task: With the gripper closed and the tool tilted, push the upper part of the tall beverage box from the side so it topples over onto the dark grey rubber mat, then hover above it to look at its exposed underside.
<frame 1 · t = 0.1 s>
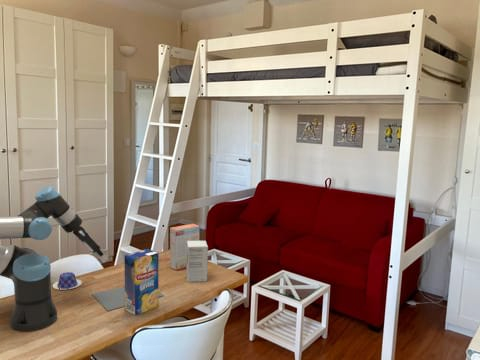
hand: (100, 255, 173), 15 cm above the table, tool tilted 35°, fingers open, 13 cm apart
cracker box: (184, 266, 206), on the table
pudding: (67, 286, 179), on the table
mat: (128, 295, 171), on the table
beverage box: (141, 308, 160), on the table
supplement box: (196, 278, 192), on the table
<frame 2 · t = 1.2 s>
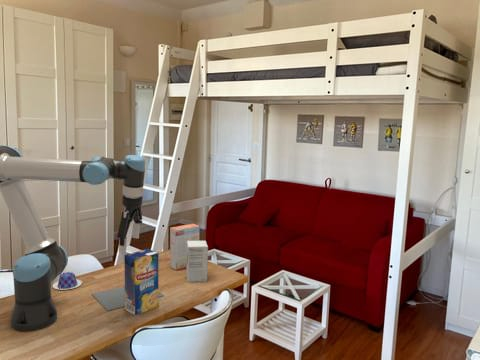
hand: (129, 244, 164), 23 cm above the table, tool pointing down, fingers open, 13 cm apart
nothing on the table moved.
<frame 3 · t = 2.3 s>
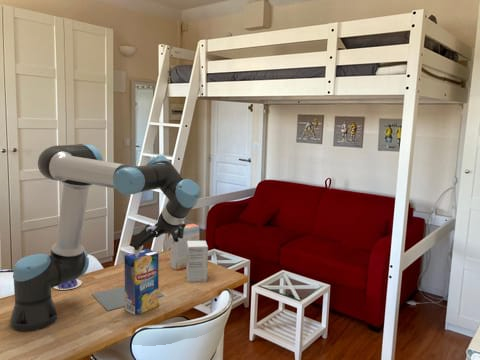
hand: (151, 249, 146), 27 cm above the table, tool tilted 45°, fingers open, 11 cm apart
nothing on the table moved.
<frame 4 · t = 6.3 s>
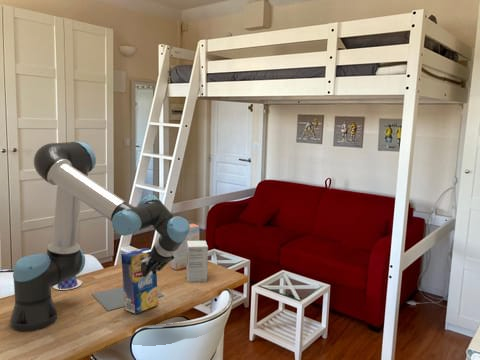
hand: (144, 278, 158), 12 cm above the table, tool tilted 45°, fingers closed
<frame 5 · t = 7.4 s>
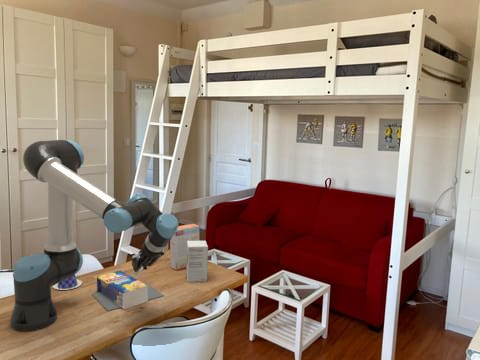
hand: (135, 273, 163), 12 cm above the table, tool tilted 45°, fingers closed
beverage box: (136, 297, 161), point 3 cm above the table
everything else where it was.
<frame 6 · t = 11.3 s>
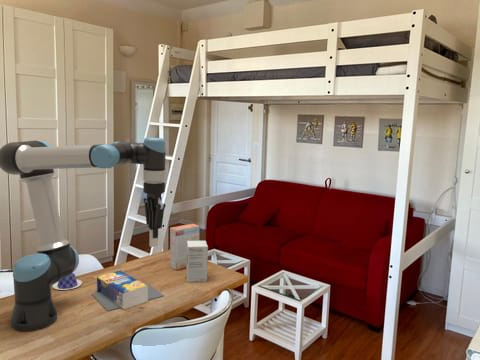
hand: (153, 245, 148), 28 cm above the table, tool pointing down, fingers closed
nothing on the table moved.
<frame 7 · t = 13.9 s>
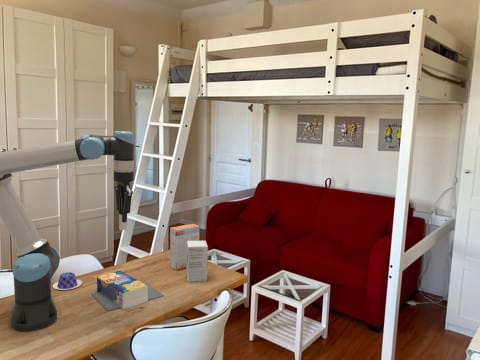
hand: (123, 229, 163), 29 cm above the table, tool pointing down, fingers closed
nothing on the table moved.
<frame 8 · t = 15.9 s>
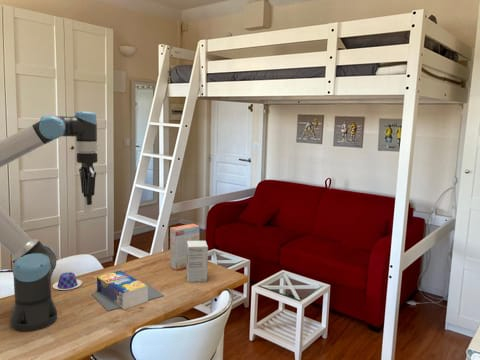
hand: (88, 212, 160), 36 cm above the table, tool pointing down, fingers closed
at the end: beverage box tilted 90°; beverage box inside the target area (5.0 cm from its centre), point 3.3 cm above the table; the gripper is holding nothing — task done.
